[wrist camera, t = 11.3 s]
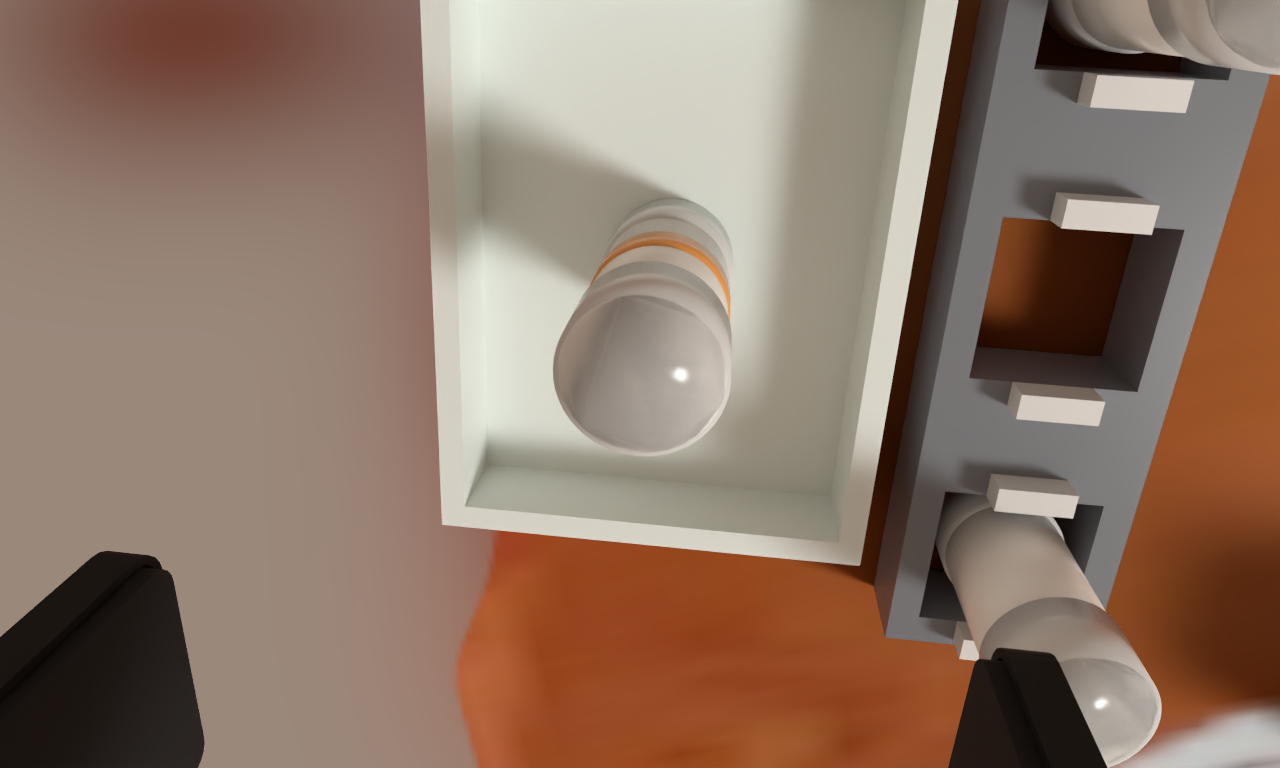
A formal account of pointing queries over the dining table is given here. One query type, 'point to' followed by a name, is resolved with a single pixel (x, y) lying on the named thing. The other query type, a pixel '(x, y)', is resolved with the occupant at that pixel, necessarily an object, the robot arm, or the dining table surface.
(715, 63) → the tray
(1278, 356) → the dining table surface
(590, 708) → the dining table surface
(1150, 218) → the fuse block
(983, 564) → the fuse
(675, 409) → the marked fuse
